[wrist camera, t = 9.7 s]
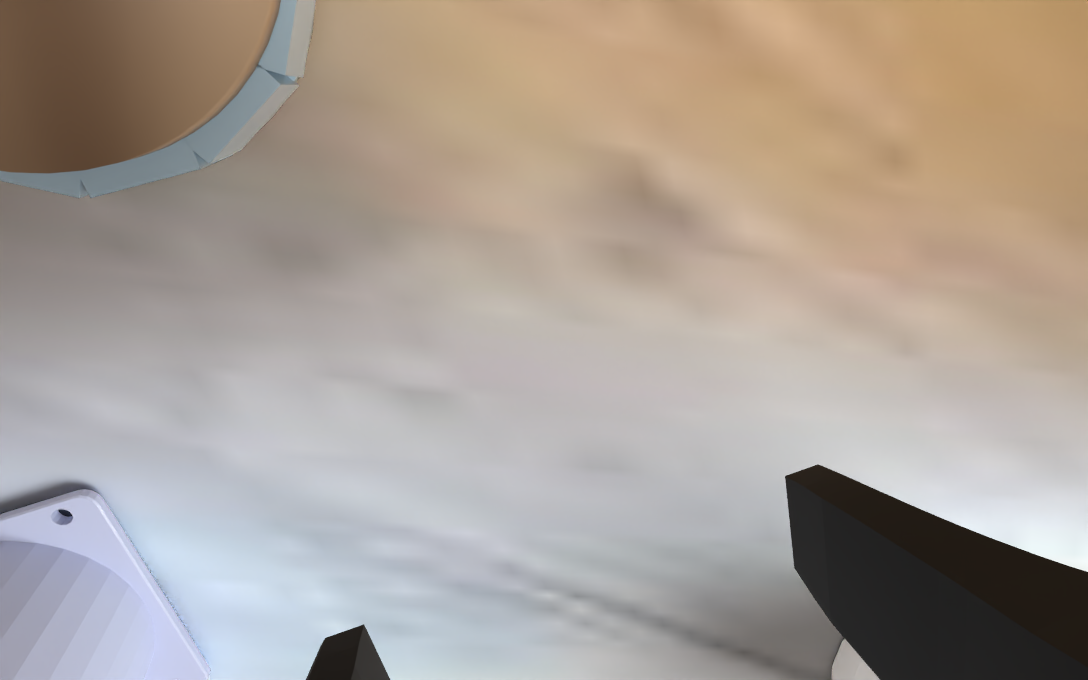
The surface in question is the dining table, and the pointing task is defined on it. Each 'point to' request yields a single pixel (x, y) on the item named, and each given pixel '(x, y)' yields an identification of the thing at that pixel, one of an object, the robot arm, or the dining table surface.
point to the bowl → (216, 136)
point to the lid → (119, 75)
